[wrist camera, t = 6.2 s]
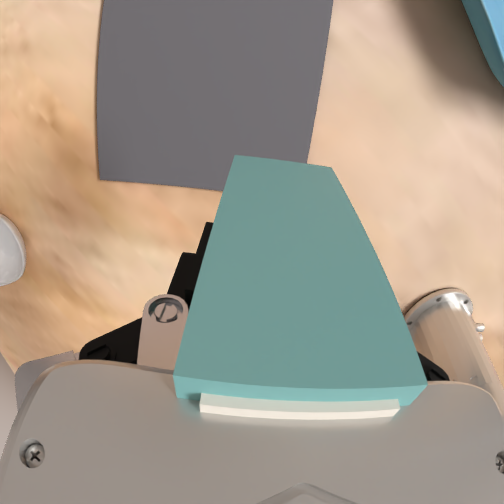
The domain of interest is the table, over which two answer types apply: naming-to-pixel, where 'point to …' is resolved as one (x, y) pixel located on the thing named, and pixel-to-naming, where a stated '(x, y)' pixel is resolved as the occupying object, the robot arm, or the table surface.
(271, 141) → the mat
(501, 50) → the casserole dish
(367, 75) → the table surface
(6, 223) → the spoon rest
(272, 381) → the teal rectangular block
